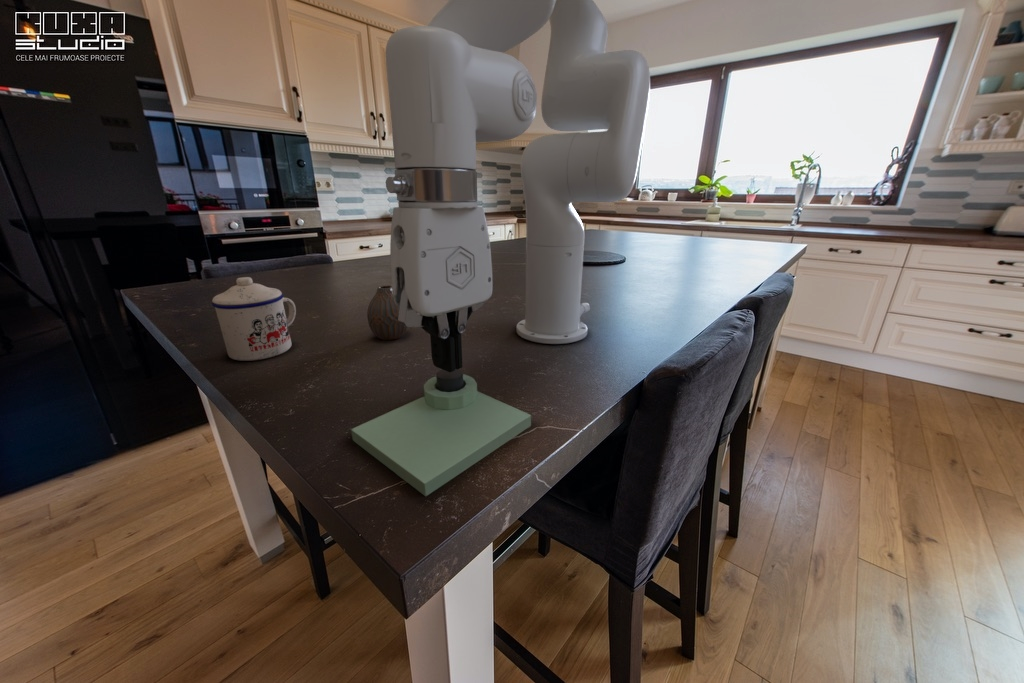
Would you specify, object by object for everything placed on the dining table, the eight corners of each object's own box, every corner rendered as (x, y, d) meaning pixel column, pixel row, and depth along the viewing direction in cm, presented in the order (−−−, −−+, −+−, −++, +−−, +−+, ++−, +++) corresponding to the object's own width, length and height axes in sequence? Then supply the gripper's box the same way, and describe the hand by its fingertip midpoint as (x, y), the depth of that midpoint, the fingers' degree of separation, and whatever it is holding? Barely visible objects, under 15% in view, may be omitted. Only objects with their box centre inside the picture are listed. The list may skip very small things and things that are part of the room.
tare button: (451, 379, 47) (451, 365, 47) (468, 386, 45) (468, 372, 45) (431, 387, 45) (430, 374, 45) (448, 396, 43) (448, 381, 43)
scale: (454, 390, 50) (453, 368, 49) (531, 426, 42) (531, 401, 41) (350, 439, 40) (346, 413, 39) (425, 497, 33) (422, 467, 32)
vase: (400, 344, 65) (394, 292, 62) (362, 341, 66) (354, 290, 63) (417, 331, 71) (413, 283, 68) (382, 328, 73) (376, 281, 69)
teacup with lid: (256, 366, 57) (236, 286, 53) (212, 357, 60) (190, 282, 56) (320, 338, 68) (307, 271, 63) (280, 332, 70) (265, 267, 66)
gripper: (391, 190, 30) (411, 402, 37) (518, 192, 41) (516, 356, 47) (343, 190, 35) (368, 379, 41) (468, 192, 45) (473, 341, 52)
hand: (447, 366), depth 44 cm, fingers closed
